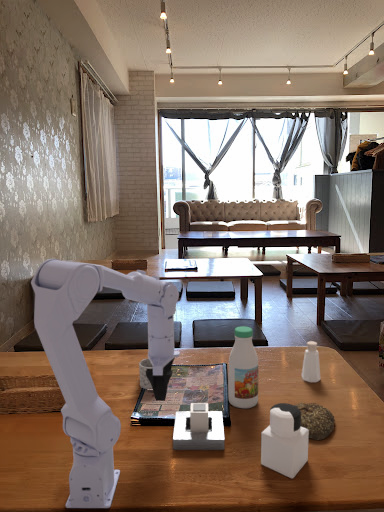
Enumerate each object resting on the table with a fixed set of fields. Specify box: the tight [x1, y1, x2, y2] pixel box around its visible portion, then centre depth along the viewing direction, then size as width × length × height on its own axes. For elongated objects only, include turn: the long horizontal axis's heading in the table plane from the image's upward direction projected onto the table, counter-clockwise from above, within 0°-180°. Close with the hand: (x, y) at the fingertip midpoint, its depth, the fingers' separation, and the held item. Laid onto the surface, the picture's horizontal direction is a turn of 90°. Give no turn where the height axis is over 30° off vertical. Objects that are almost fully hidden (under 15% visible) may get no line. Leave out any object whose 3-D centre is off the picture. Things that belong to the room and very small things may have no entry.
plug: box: [190, 402, 209, 432], centre depth 93 cm, size 4×4×6 cm
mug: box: [138, 357, 153, 389], centre depth 118 cm, size 10×7×7 cm, turn 25°
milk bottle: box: [227, 325, 259, 409], centre depth 106 cm, size 8×8×20 cm
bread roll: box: [293, 402, 336, 441], centre depth 97 cm, size 13×12×5 cm
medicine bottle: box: [260, 402, 309, 479], centre depth 82 cm, size 7×7×12 cm
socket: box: [172, 410, 225, 451], centre depth 93 cm, size 11×11×2 cm
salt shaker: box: [300, 340, 321, 383], centre depth 119 cm, size 5×5×11 cm
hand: (162, 391), depth 92 cm, fingers open, 7 cm apart
